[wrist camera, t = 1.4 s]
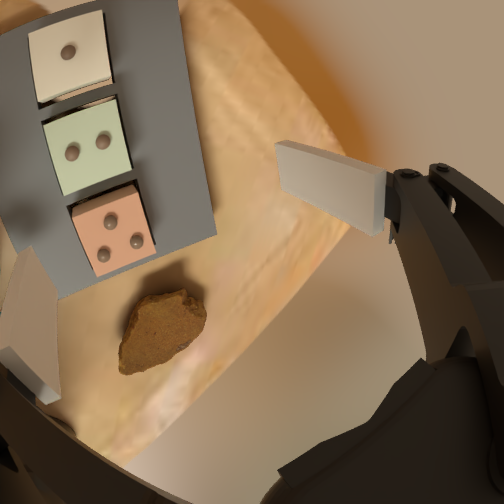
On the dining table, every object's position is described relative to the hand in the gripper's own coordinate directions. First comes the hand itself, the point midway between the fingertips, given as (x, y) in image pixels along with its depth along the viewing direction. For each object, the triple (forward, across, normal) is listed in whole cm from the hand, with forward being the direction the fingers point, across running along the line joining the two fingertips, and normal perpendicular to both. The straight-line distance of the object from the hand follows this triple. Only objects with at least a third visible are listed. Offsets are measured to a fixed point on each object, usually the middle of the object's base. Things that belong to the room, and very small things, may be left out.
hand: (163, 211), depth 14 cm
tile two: (+14, -3, +3) cm, 15 cm away
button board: (+16, -3, +3) cm, 17 cm away
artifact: (+17, -3, -20) cm, 26 cm away
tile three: (+14, -3, -5) cm, 15 cm away
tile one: (+14, -2, +11) cm, 18 cm away
